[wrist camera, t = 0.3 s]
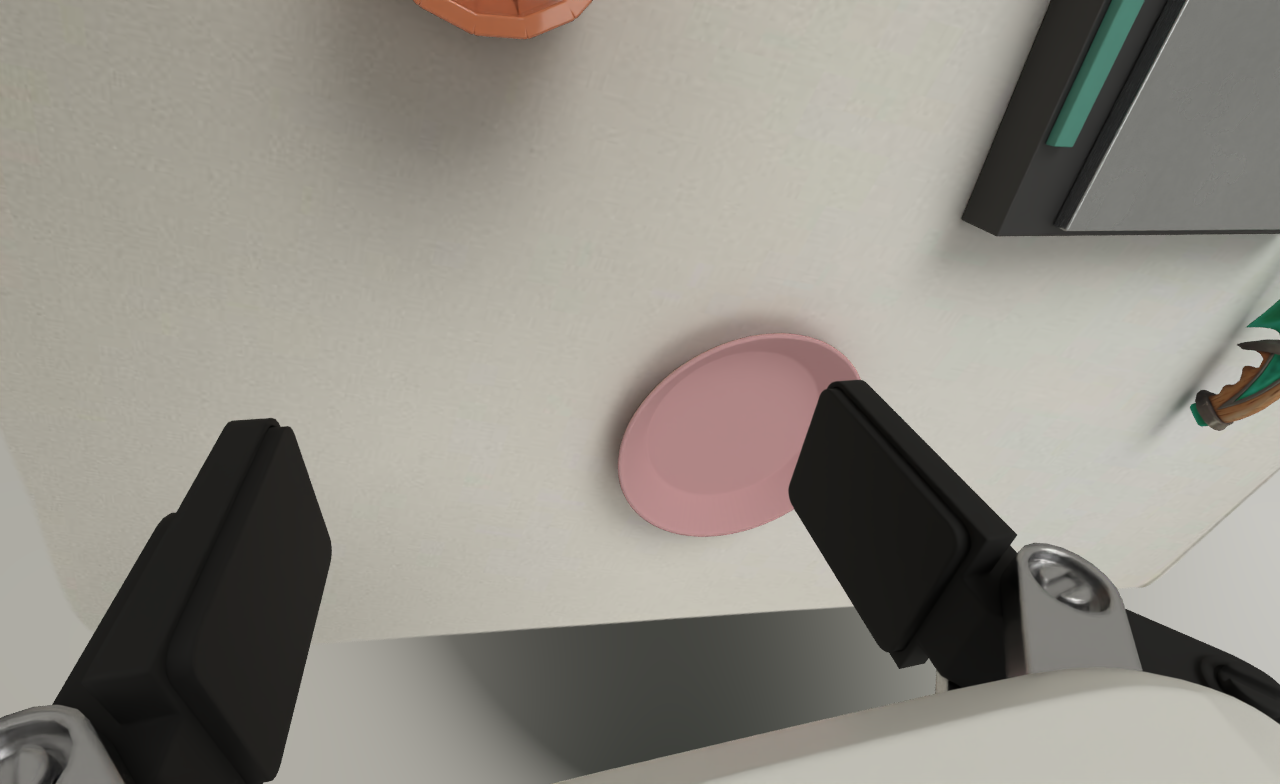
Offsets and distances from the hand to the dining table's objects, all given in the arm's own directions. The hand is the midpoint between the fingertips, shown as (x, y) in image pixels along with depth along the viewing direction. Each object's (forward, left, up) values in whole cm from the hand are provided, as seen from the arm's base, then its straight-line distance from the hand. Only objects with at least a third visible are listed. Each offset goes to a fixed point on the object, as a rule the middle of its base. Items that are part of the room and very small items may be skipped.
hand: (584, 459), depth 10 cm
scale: (-6, +33, -15) cm, 37 cm away
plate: (+13, +11, -15) cm, 23 cm away
